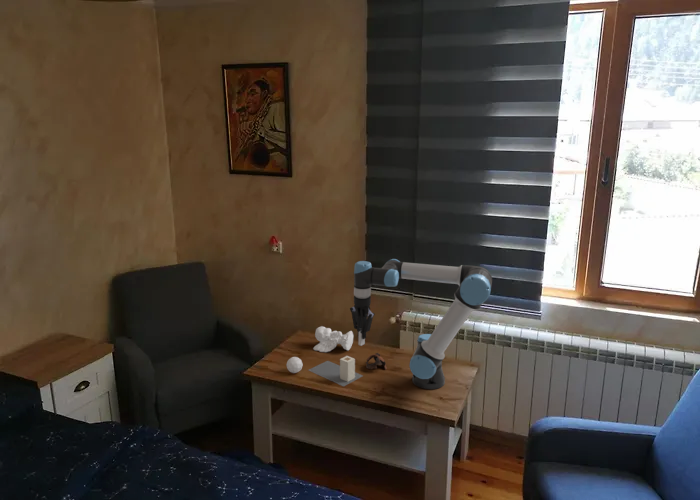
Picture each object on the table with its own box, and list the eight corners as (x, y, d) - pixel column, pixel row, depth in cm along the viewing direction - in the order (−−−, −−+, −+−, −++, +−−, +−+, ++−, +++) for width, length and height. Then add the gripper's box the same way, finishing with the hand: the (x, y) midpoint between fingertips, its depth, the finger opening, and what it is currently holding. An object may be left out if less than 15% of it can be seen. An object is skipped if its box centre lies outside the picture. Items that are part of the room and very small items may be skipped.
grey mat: (363, 376, 261) (363, 375, 261) (343, 387, 251) (343, 386, 251) (327, 361, 277) (327, 360, 277) (307, 370, 267) (307, 370, 266)
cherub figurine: (346, 338, 279) (310, 329, 285) (344, 359, 283) (309, 350, 289) (354, 328, 291) (320, 319, 297) (352, 348, 295) (318, 339, 301)
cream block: (354, 378, 259) (354, 358, 256) (347, 381, 255) (347, 362, 253) (347, 374, 262) (347, 355, 259) (340, 378, 258) (340, 359, 256)
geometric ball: (299, 376, 266) (307, 367, 263) (285, 375, 262) (293, 365, 258) (295, 364, 271) (303, 354, 268) (281, 362, 267) (289, 352, 263)
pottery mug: (388, 374, 265) (380, 362, 261) (370, 380, 267) (363, 368, 264) (388, 357, 275) (380, 346, 272) (371, 363, 278) (364, 352, 274)
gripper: (379, 297, 240) (377, 346, 246) (356, 290, 248) (356, 338, 255) (368, 301, 235) (367, 351, 241) (345, 294, 243) (345, 342, 249)
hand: (361, 344), depth 248 cm, fingers closed
